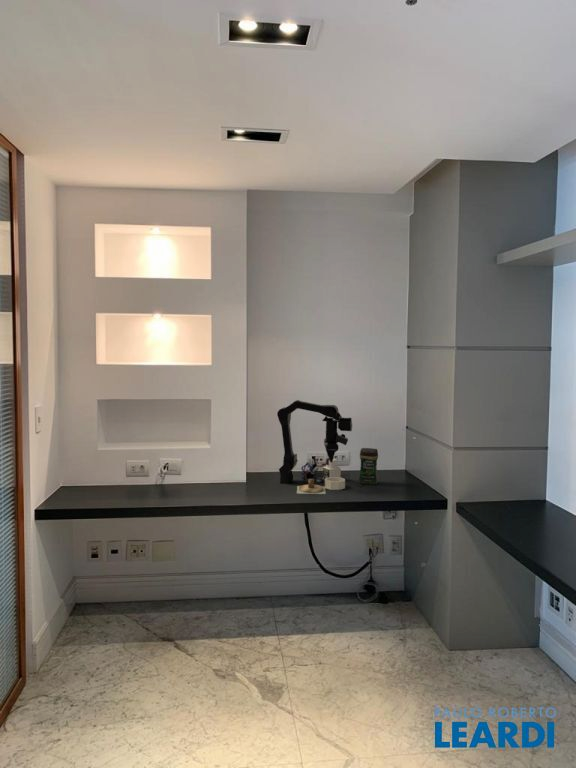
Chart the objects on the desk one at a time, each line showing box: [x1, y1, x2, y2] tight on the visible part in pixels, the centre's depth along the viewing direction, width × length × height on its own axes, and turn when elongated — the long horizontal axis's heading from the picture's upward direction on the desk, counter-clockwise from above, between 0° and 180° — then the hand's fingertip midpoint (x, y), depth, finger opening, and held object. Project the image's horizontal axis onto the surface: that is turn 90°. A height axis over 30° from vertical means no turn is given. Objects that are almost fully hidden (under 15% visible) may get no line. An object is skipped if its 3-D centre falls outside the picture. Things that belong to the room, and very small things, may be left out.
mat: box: [296, 485, 327, 495], centre depth 287 cm, size 14×14×1 cm
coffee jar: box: [358, 447, 379, 486], centre depth 302 cm, size 10×8×19 cm
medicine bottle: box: [322, 457, 342, 481], centre depth 308 cm, size 7×7×12 cm
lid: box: [299, 478, 323, 493], centre depth 287 cm, size 12×12×5 cm
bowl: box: [324, 477, 346, 491], centre depth 292 cm, size 10×10×4 cm
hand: (330, 460), depth 296 cm, fingers open, 9 cm apart
